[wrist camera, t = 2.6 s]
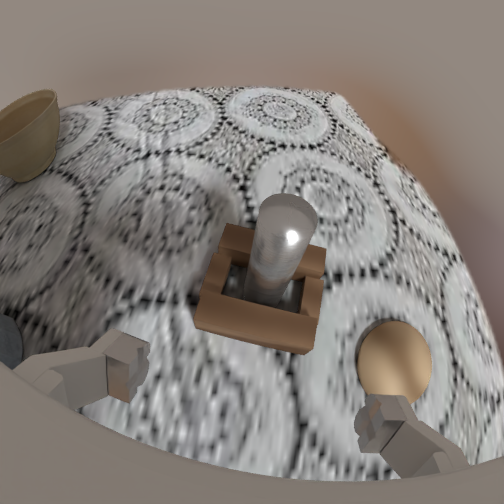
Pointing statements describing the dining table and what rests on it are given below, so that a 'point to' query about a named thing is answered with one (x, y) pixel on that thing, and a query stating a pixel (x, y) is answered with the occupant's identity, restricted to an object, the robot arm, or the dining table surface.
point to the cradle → (255, 315)
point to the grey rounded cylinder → (278, 247)
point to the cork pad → (394, 361)
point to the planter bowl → (29, 135)
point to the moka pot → (10, 342)
